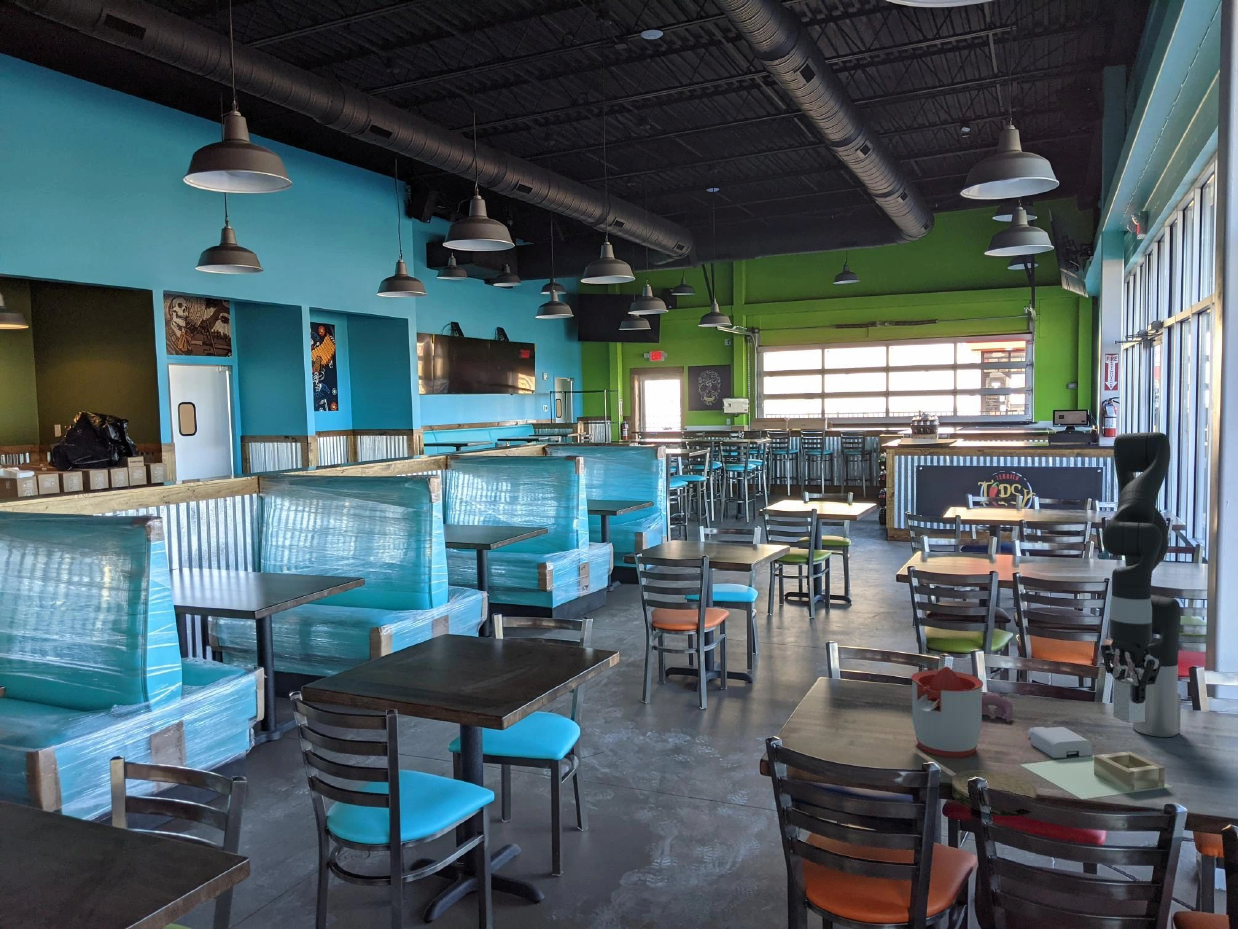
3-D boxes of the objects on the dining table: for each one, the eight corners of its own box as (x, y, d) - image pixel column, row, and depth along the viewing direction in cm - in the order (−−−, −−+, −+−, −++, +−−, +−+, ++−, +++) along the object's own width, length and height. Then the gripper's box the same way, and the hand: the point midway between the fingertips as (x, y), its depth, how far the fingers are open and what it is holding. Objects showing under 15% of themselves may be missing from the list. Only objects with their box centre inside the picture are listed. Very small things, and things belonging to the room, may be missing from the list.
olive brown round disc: (934, 792, 179) (934, 778, 179) (990, 778, 186) (990, 764, 186) (997, 824, 165) (997, 809, 165) (1055, 807, 171) (1055, 792, 171)
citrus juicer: (892, 751, 201) (892, 666, 200) (935, 734, 211) (935, 653, 210) (954, 772, 188) (954, 682, 187) (996, 753, 199) (996, 667, 198)
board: (1104, 758, 195) (1104, 754, 195) (1172, 791, 177) (1172, 786, 177) (1020, 769, 189) (1020, 764, 189) (1081, 804, 172) (1082, 799, 172)
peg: (1129, 715, 182) (1129, 677, 182) (1145, 721, 178) (1145, 683, 178) (1113, 716, 181) (1114, 679, 181) (1128, 723, 177) (1129, 685, 177)
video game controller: (1012, 725, 221) (1014, 697, 223) (1010, 722, 217) (1012, 694, 220) (971, 719, 226) (973, 692, 229) (969, 715, 223) (971, 688, 225)
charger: (1050, 736, 209) (1091, 760, 194) (1015, 739, 208) (1053, 763, 193) (1050, 717, 209) (1092, 740, 194) (1015, 719, 208) (1053, 742, 193)
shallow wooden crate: (1128, 769, 186) (1129, 751, 186) (1164, 786, 177) (1164, 767, 177) (1093, 774, 184) (1094, 755, 184) (1128, 791, 175) (1128, 772, 175)
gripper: (1175, 624, 173) (1173, 708, 174) (1118, 610, 187) (1117, 688, 188) (1144, 627, 171) (1142, 712, 172) (1089, 612, 185) (1088, 691, 186)
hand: (1129, 699), depth 180 cm, fingers closed on peg, 4 cm apart
